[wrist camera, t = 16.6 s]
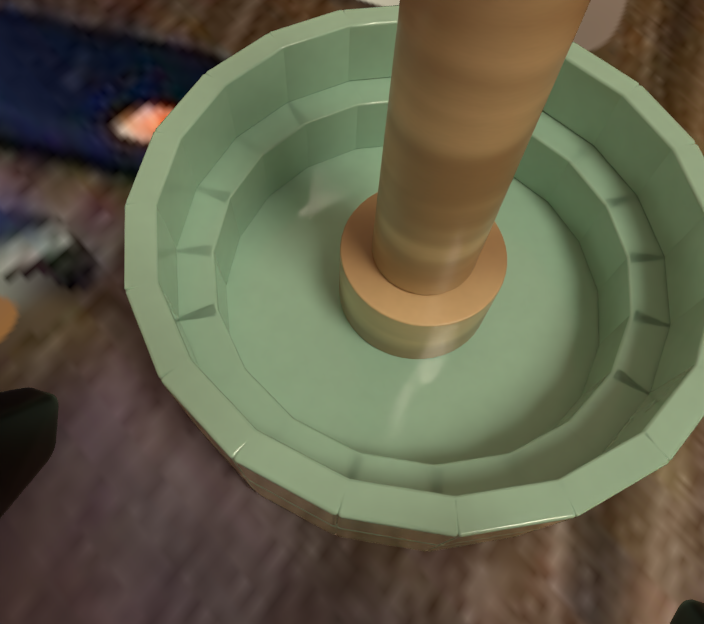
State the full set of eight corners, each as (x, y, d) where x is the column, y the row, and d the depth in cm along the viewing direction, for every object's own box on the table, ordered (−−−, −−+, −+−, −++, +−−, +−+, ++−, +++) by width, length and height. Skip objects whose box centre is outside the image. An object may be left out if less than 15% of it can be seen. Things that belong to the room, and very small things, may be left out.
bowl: (430, 687, 15) (473, 727, 10) (75, 293, 19) (-2, 201, 15) (735, 302, 20) (853, 217, 15) (399, 60, 24) (414, -61, 20)
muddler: (491, 364, 18) (859, -171, 5) (334, 355, 18) (341, -204, 5) (483, 232, 20) (737, -375, 8) (343, 224, 20) (362, -400, 8)
